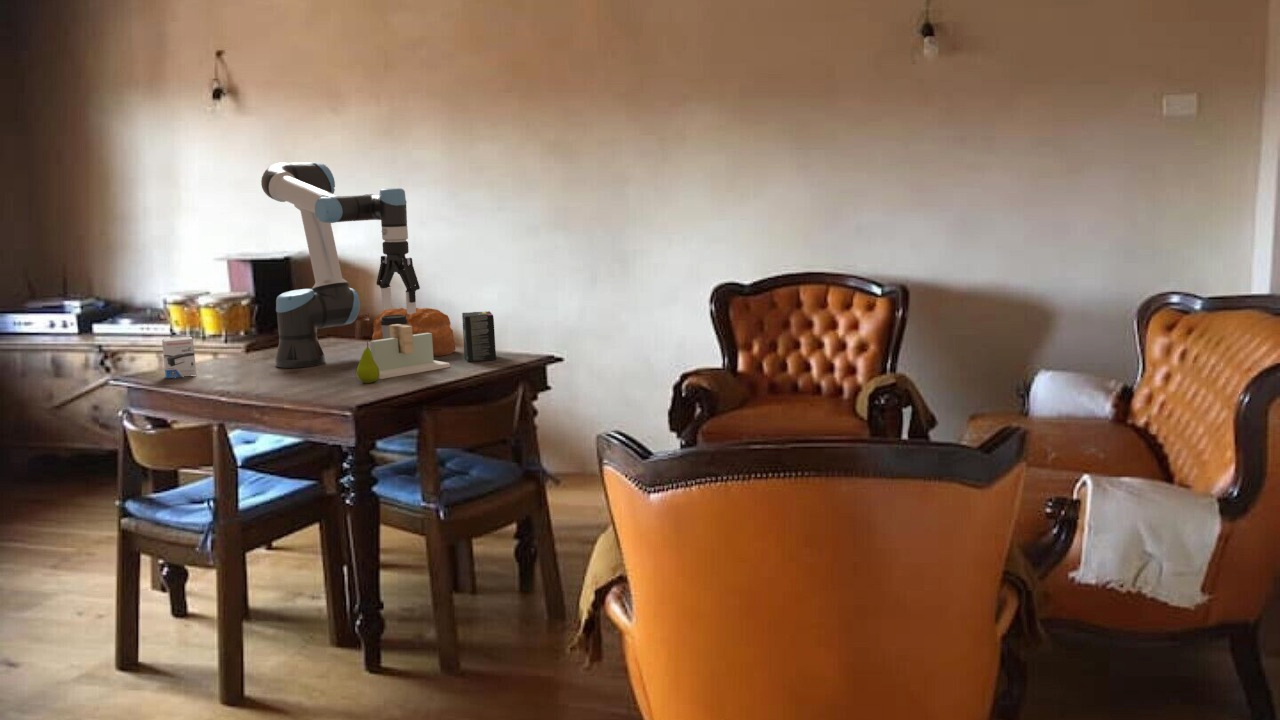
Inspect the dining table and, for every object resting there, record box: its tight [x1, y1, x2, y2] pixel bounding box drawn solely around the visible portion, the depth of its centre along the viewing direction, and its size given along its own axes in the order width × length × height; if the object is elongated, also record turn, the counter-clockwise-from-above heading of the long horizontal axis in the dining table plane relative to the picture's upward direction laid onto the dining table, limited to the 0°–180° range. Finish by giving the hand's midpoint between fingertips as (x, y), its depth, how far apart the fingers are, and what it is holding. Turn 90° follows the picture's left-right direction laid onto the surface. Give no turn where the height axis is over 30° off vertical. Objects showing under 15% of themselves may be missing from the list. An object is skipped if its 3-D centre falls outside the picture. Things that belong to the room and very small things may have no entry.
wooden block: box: [389, 324, 414, 354], centre depth 333 cm, size 8×3×8 cm, turn 43°
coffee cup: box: [381, 315, 408, 339], centre depth 346 cm, size 8×8×15 cm
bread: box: [371, 307, 456, 357], centre depth 365 cm, size 14×26×16 cm, turn 75°
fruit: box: [356, 340, 380, 384], centre depth 316 cm, size 6×6×12 cm
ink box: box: [161, 336, 197, 379], centre depth 334 cm, size 8×5×12 cm, turn 117°
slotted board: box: [369, 333, 451, 380], centre depth 334 cm, size 14×24×10 cm, turn 134°
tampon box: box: [461, 311, 497, 363], centre depth 351 cm, size 11×9×15 cm
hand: (399, 311), depth 332 cm, fingers open, 13 cm apart
